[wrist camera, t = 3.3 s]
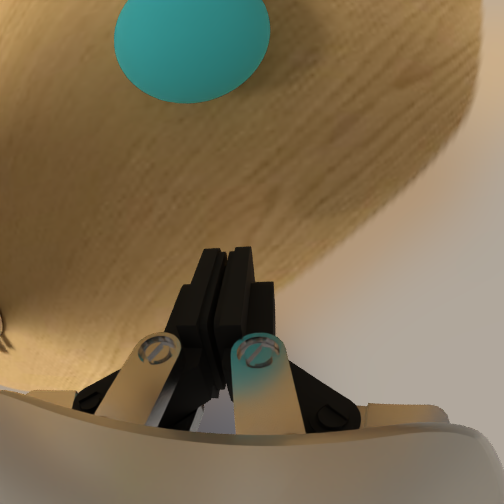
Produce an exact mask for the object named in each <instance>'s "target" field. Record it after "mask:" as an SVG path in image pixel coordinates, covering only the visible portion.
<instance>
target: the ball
mask: <svg viewBox="0 0 504 504" xmlns="http://www.w3.org/2000/svg"><path fill="white" fill-rule="evenodd" d="M269 39H270V22H269V16H268V12H267V10H266V7H265V4H264V3H263V1H262V0H128V1H127V2H126V4H125V5H124V7H123V9H122V11H121V13H120V15H119V17H118V20H117V23H116V27H115V33H114V48H115V54H116V57H117V61H118V63H119V65H120V67H121V69H122V71H123V72H124V74H125V75H126V77H127V78H128V79H129V80H130V81H131V82H132V83H133V84H134V85H135V86H136V87H137V88H139V89H140V90H141V91H143V92H145V93H146V94H148V95H150V96H152V97H155V98H157V99H160V100H164V101H167V102H174V103H199V102H204V101H209V100H212V99H215V98H218V97H220V96H223V95H225V94H227V93H229V92H231V91H232V90H234V89H236V88H237V87H239V86H240V85H241V84H242V83H244V82H245V81H246V80H247V79H248V78H249V77H250V76H251V75H252V74H253V73H254V71H255V70H256V69H257V68H258V66H259V65H260V63H261V61H262V60H263V58H264V55H265V53H266V51H267V47H268V44H269Z"/></svg>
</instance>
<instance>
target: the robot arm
mask: <svg viewBox="0 0 504 504" xmlns="http://www.w3.org/2000/svg"><path fill="white" fill-rule="evenodd" d="M2 326H3V325H2V319H1V315H0V335H1V333H2ZM226 384H227V388H228V391H229V395H230V398H231V401H233V402H234V414H235V428H236V435H234V434H215V433H201V432H197V429H198V426H199V423H200V421H201V418H202V415H203V413H204V404H205V403H206V402H208V401H209V400H211V398H218V397H219V391H220V389H221V390H223V389H225V386H226ZM0 504H504V470H503V467H502V464H501V462H500V460H499V458H498V455H497V453H496V451H495V449H494V448H493V446H492V444H491V443H490V442H489V440H488V439H487V438H486V437H485V436H484V435H483V434H482V433H480V432H479V431H477V430H475V429H472V428H469V427H466V426H462V425H457V424H451V423H449V419H448V416H447V414H446V413H445V412H444V410H443V409H441V408H439V407H438V406H434V405H399V404H398V405H397V404H395V405H394V404H373V403H368V405H367V406H356V405H355V404H354V403H353V402H352V401H351V400H349V399H347V398H346V397H344V396H342V395H341V394H339V393H338V392H336V391H335V390H333V389H332V388H330V387H329V386H327V385H325V384H324V383H322V382H321V381H319V380H318V379H316V378H315V377H313V376H312V375H310V374H308V373H307V372H306V371H304V370H303V369H301V368H300V367H298V366H297V365H295V364H293V363H292V362H291V361H289V360H288V356H287V352H286V348H285V346H284V344H283V342H282V341H281V340H280V339H279V338H278V337H276V336H275V299H274V283H273V282H255V277H254V268H253V258H252V249H251V246H250V247H235V251H230V252H229V256H228V260H227V255H226V252H221V250H220V248H212V249H204V250H203V253H202V255H201V258H200V261H199V263H198V266H197V268H196V271H195V274H194V276H193V279H192V282H191V284H185V285H183V286H182V288H181V290H180V292H179V295H178V297H177V300H176V302H175V305H174V308H173V310H172V313H171V315H170V318H169V320H168V323H167V326H166V328H165V331H164V332H158V333H153V334H150V335H148V336H146V337H144V338H143V339H141V340H140V341H139V342H138V344H137V345H136V346H135V348H134V349H133V351H132V352H131V354H130V356H129V357H128V359H127V360H126V362H125V364H124V365H123V367H122V368H121V369H119V370H118V371H116V372H114V373H112V374H110V375H109V376H107V377H105V378H103V379H101V380H99V381H97V382H96V383H94V384H92V385H90V386H88V387H86V388H85V389H83V390H82V391H80V392H79V393H77V391H56V390H34V391H30V392H29V393H27V394H26V395H24V394H21V393H18V392H13V391H7V390H0Z"/></svg>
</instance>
